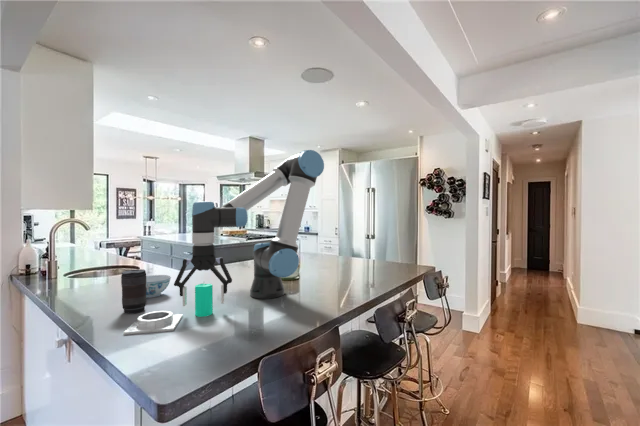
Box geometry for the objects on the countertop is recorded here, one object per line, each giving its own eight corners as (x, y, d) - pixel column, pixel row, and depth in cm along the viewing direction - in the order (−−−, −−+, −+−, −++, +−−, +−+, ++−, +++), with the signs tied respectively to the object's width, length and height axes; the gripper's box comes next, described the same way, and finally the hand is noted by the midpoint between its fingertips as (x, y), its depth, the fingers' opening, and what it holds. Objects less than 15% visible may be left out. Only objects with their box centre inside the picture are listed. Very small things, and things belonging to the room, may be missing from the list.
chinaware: (148, 290, 149) (148, 274, 149) (177, 291, 147) (177, 275, 147) (124, 299, 134) (124, 281, 134) (156, 300, 132) (156, 282, 132)
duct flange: (182, 316, 112) (182, 307, 112) (173, 330, 98) (173, 321, 98) (139, 319, 108) (139, 310, 108) (123, 334, 95) (123, 324, 95)
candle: (209, 316, 111) (209, 282, 111) (192, 316, 111) (192, 282, 111) (215, 311, 117) (215, 279, 117) (199, 311, 117) (198, 279, 117)
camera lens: (123, 309, 120) (123, 270, 120) (147, 306, 123) (147, 268, 123) (119, 315, 113) (119, 273, 113) (145, 312, 116) (145, 272, 116)
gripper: (238, 242, 121) (239, 298, 121) (169, 244, 115) (169, 303, 115) (238, 244, 113) (238, 304, 113) (164, 246, 108) (164, 309, 108)
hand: (204, 303), depth 114 cm, fingers open, 12 cm apart
